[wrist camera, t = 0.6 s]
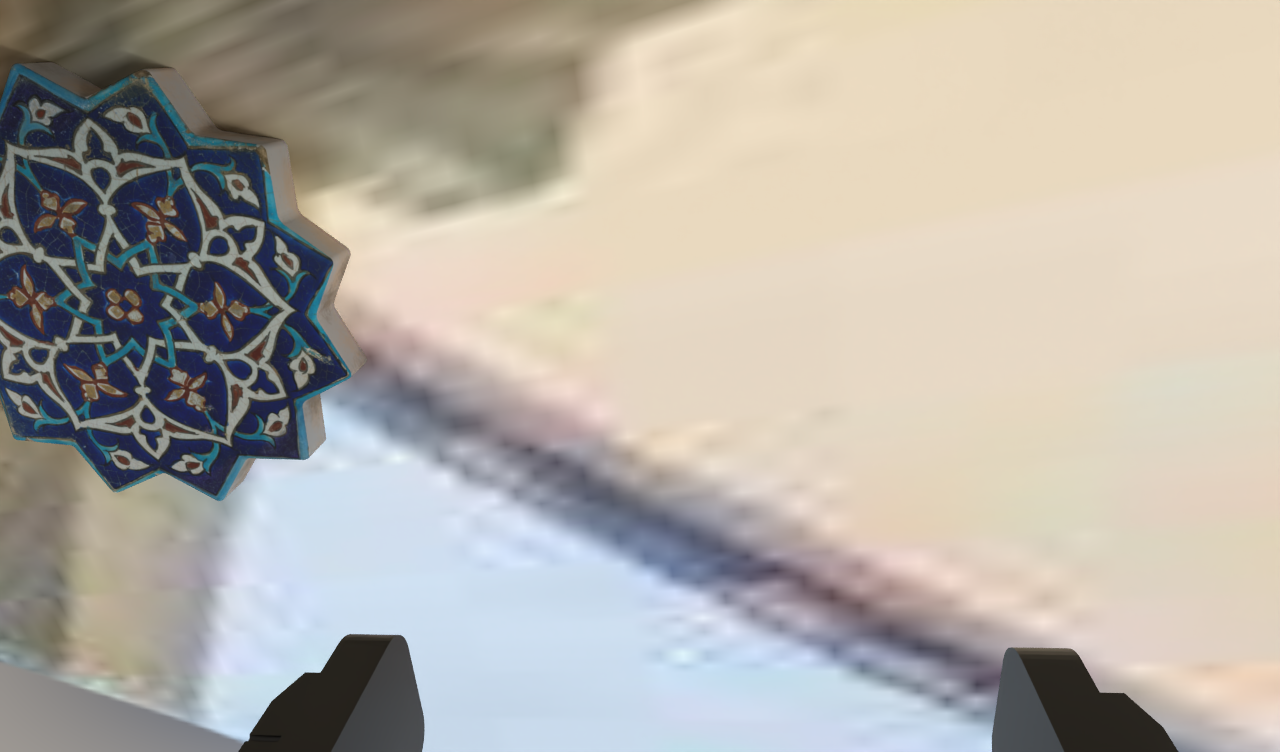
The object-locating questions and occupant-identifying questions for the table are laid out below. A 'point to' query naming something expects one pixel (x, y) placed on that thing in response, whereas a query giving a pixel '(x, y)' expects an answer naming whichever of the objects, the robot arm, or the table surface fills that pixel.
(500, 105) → the table surface
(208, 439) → the decorative tile
